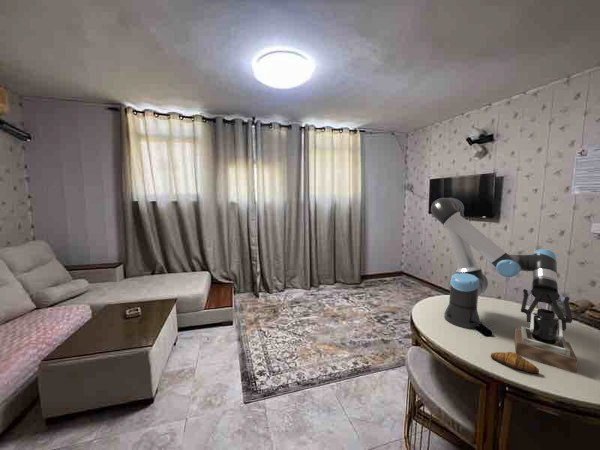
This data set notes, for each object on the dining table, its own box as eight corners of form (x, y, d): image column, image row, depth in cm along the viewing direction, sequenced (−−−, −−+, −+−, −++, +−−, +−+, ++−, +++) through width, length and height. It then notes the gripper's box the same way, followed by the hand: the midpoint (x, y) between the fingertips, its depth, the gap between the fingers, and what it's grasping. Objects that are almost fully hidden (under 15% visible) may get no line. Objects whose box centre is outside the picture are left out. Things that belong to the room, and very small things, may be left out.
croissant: (538, 369, 87) (539, 356, 87) (539, 380, 82) (541, 366, 82) (490, 353, 96) (492, 342, 96) (489, 362, 91) (490, 349, 91)
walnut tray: (515, 354, 96) (517, 337, 95) (514, 338, 106) (515, 323, 106) (575, 372, 86) (578, 354, 85) (567, 353, 96) (569, 337, 96)
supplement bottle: (552, 338, 97) (555, 309, 95) (558, 347, 91) (562, 317, 90) (529, 333, 100) (532, 305, 99) (533, 341, 95) (537, 312, 93)
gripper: (577, 292, 99) (582, 347, 88) (512, 281, 112) (510, 328, 101) (582, 282, 94) (588, 340, 84) (514, 272, 107) (512, 321, 96)
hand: (545, 333), depth 92 cm, fingers open, 7 cm apart
